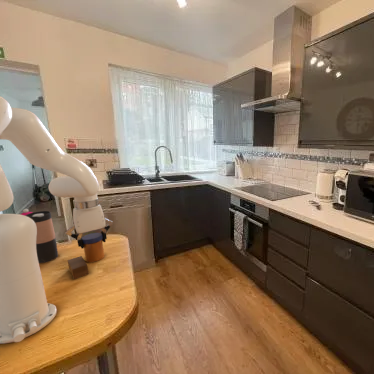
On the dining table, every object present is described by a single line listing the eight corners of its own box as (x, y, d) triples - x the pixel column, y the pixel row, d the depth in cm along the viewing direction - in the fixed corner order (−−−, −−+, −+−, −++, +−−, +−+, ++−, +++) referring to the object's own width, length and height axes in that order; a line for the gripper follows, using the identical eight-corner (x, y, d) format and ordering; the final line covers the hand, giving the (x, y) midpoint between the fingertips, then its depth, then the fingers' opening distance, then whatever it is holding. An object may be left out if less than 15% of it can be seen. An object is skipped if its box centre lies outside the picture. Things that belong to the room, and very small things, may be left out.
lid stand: (88, 274, 82) (87, 264, 81) (74, 279, 78) (72, 269, 78) (83, 264, 87) (81, 255, 87) (69, 269, 84) (67, 260, 83)
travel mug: (41, 255, 94) (32, 211, 90) (62, 252, 96) (54, 210, 92) (29, 264, 87) (19, 217, 83) (53, 261, 89) (43, 216, 85)
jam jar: (106, 257, 93) (103, 237, 91) (88, 264, 88) (84, 242, 86) (102, 252, 97) (99, 232, 95) (84, 258, 92) (80, 237, 90)
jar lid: (80, 240, 90) (79, 236, 90) (100, 235, 96) (99, 231, 95) (84, 245, 86) (83, 241, 85) (104, 240, 91) (104, 235, 91)
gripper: (108, 198, 96) (113, 235, 100) (57, 206, 84) (65, 248, 87) (114, 201, 91) (119, 240, 95) (60, 210, 79) (68, 255, 82)
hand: (93, 243), depth 91 cm, fingers closed on jar lid, 7 cm apart
